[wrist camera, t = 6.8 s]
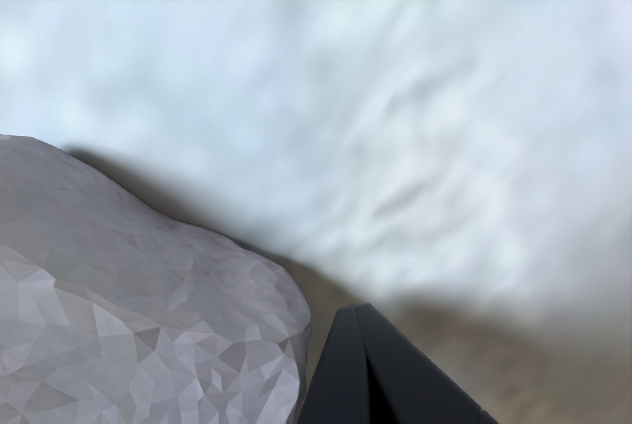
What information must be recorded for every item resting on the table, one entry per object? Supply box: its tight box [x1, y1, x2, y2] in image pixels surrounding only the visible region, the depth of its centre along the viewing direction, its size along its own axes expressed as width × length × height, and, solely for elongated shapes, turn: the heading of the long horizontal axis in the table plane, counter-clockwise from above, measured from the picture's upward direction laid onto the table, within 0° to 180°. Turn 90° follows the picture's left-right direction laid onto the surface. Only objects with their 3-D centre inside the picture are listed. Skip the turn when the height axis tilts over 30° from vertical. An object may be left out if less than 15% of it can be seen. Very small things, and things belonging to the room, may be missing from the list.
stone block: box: [0, 134, 311, 424], centre depth 8 cm, size 12×5×10 cm
